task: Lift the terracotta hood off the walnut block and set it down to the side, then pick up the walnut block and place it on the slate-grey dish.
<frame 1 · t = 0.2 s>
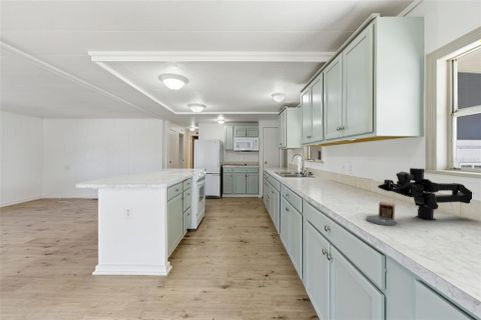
hand: (384, 188, 120), 16 cm above the counter, tool horizontal, fingers open, 9 cm apart
slate dish: (380, 221, 116), on the counter
walnut block: (386, 212, 125), in the terracotta hood
terracotta hood: (386, 216, 125), on the counter
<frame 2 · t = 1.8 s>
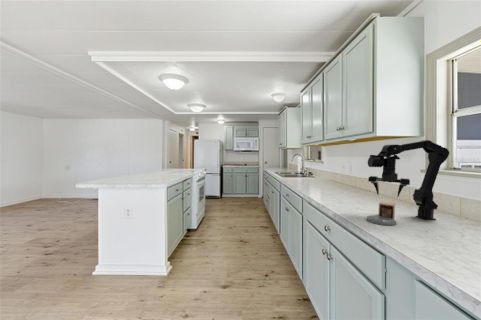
hand: (387, 195, 125), 12 cm above the counter, tool pointing down, fingers open, 9 cm apart
nothing on the counter moved.
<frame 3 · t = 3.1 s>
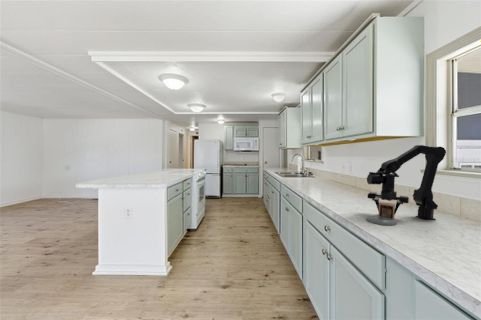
hand: (386, 212, 125), 2 cm above the counter, tool pointing down, fingers closed on terracotta hood, 7 cm apart
terracotta hood: (386, 216, 125), on the counter, touching gripper
everything else where it was.
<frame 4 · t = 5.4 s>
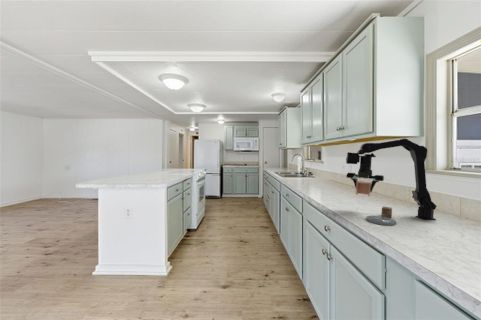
hand: (363, 191, 133), 12 cm above the counter, tool pointing down, fingers closed on terracotta hood, 7 cm apart
terracotta hood: (363, 194, 133), point 10 cm above the counter, touching gripper
everything else where it was.
when the fingers open (3 cm above the counter, at t = 7.7 s): terracotta hood drops 1 cm, on the counter.
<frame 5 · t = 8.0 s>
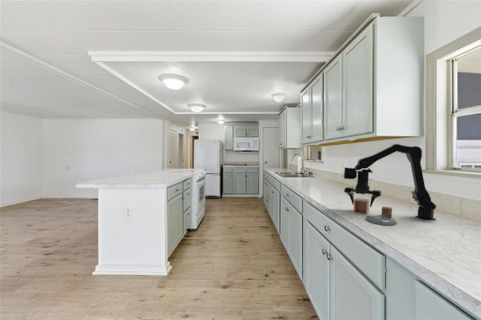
hand: (361, 206, 134), 3 cm above the counter, tool pointing down, fingers open, 9 cm apart
terracotta hood: (361, 211, 134), on the counter
everything else where it was.
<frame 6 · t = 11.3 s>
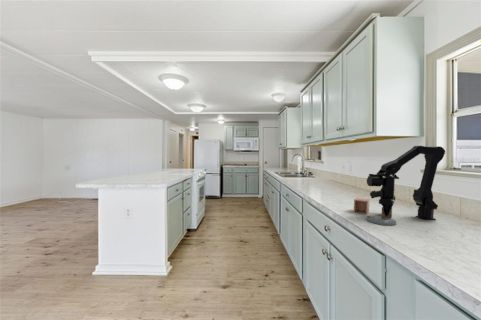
hand: (386, 214, 125), 1 cm above the counter, tool pointing down, fingers closed on walnut block, 4 cm apart
walnut block: (386, 212, 125), on the counter, touching gripper
everything else where it was.
when the fingers open (3 cm above the counter, at t = 15.2 s): walnut block drops 1 cm, resting on slate dish.
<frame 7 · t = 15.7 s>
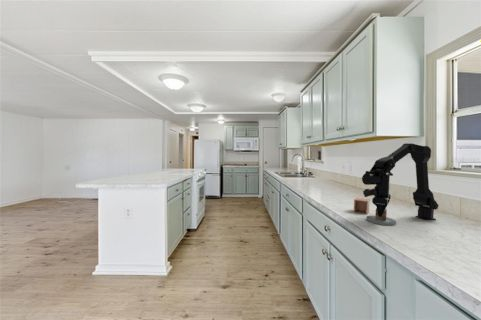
hand: (381, 214, 116), 3 cm above the counter, tool pointing down, fingers open, 9 cm apart
walnut block: (381, 214, 116), on the slate dish, point 4 cm above the counter
everything else where it was.
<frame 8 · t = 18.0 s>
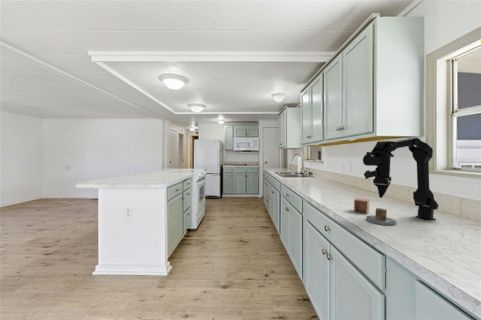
hand: (381, 196, 116), 13 cm above the counter, tool pointing down, fingers open, 9 cm apart
nothing on the counter moved.
at the end: walnut block inside the target area on the slate dish (0.1 cm from its centre), point 3.7 cm above the slate dish's base; walnut block tilted 0°; terracotta hood moved 12.8 cm from its start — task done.
